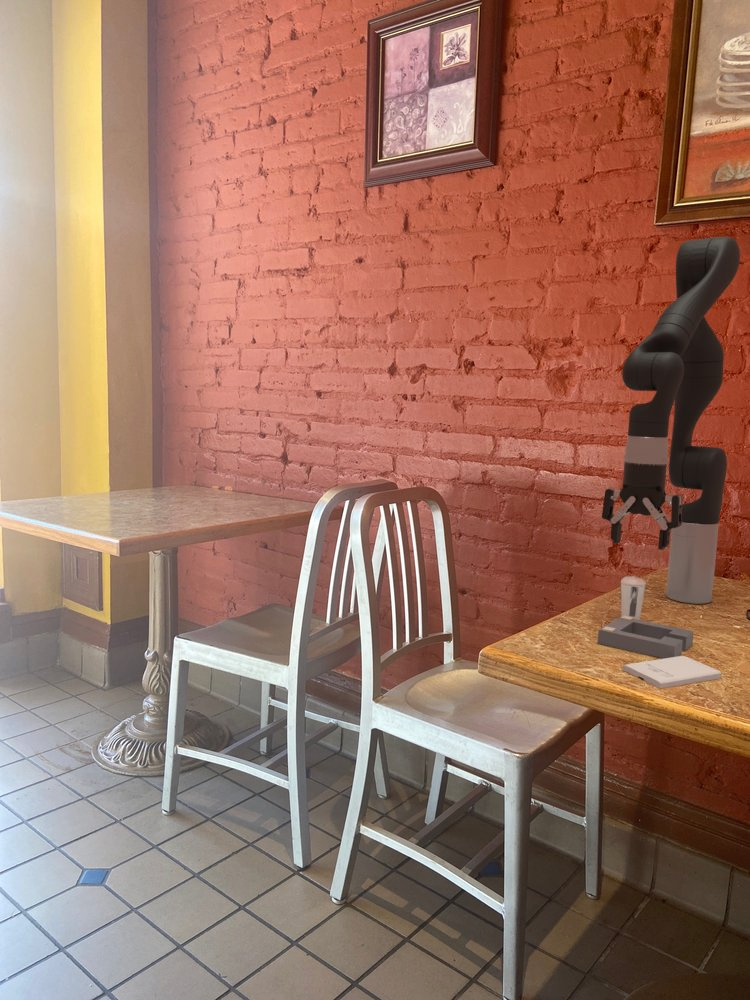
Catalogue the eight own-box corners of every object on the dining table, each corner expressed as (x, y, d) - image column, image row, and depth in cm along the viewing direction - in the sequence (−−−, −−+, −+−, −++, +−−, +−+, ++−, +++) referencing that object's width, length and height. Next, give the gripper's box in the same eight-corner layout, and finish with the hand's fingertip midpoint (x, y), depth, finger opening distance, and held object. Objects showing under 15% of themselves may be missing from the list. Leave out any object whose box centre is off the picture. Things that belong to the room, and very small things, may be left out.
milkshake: (648, 628, 141) (653, 576, 140) (619, 625, 143) (623, 574, 141) (645, 621, 146) (649, 571, 144) (616, 618, 147) (620, 569, 146)
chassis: (619, 629, 140) (620, 614, 140) (692, 644, 132) (693, 629, 132) (597, 643, 132) (598, 628, 131) (673, 661, 124) (675, 644, 123)
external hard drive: (721, 681, 117) (659, 692, 112) (680, 664, 124) (621, 672, 119) (722, 671, 116) (660, 681, 111) (681, 654, 124) (622, 663, 119)
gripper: (691, 462, 139) (683, 548, 141) (615, 457, 147) (609, 538, 149) (679, 464, 133) (671, 554, 135) (601, 458, 141) (594, 543, 143)
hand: (638, 545), depth 142 cm, fingers open, 8 cm apart
